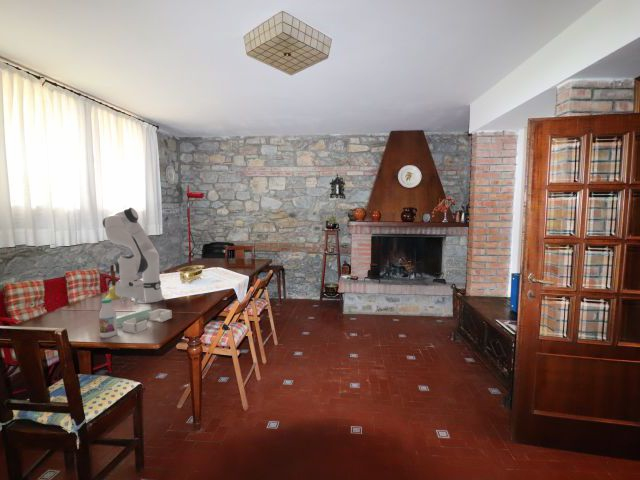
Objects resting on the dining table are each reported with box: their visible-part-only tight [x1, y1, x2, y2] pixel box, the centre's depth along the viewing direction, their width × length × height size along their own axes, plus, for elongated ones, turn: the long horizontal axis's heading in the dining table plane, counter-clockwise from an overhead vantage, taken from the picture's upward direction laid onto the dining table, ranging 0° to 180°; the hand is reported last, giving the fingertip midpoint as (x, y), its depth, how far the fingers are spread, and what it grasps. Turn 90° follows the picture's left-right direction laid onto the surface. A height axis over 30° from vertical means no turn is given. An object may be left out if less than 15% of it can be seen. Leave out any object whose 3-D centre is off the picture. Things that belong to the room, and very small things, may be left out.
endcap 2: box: [148, 308, 173, 323], centre depth 198 cm, size 8×10×5 cm
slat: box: [116, 307, 152, 329], centre depth 194 cm, size 21×4×6 cm, turn 150°
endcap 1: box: [121, 318, 149, 334], centre depth 181 cm, size 8×10×5 cm
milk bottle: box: [98, 298, 118, 339], centre depth 172 cm, size 8×8×20 cm
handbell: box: [104, 264, 121, 300], centre depth 246 cm, size 12×12×25 cm
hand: (129, 304), depth 192 cm, fingers open, 8 cm apart
